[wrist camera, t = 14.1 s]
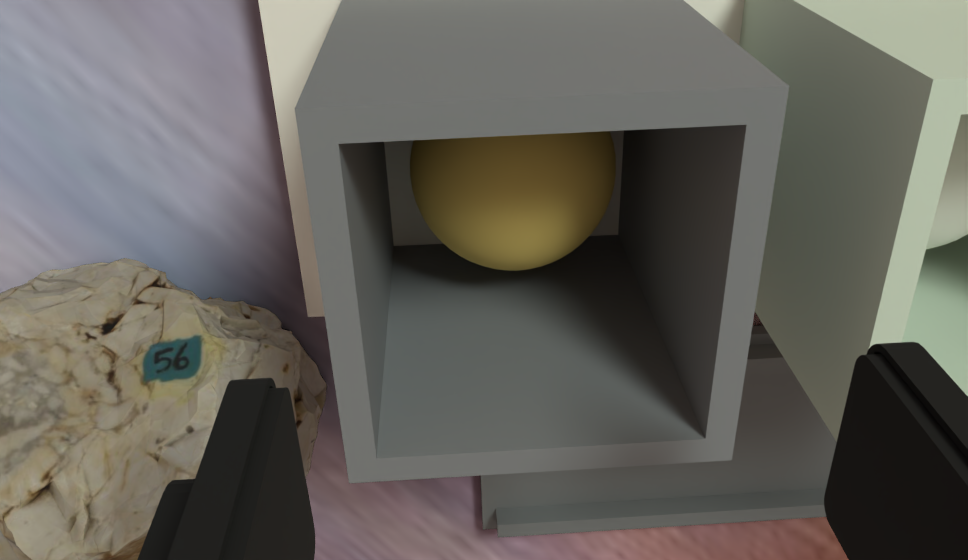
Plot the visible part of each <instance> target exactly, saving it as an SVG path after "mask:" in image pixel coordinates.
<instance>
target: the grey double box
mask: <svg viewBox="0 0 968 560" xmlns="http://www.w3.org/2000/svg"><path fill="white" fill-rule="evenodd" d="M258 2H259V8H260V15H261V21H262V27H263V34H264V40H265V47H266V53H267V59H268V66H269V72H270V78H271V85H272V91H273V98H274V104H275V110H276V117H277V123H278V129H279V136H280V142H281V148H282V155H283V161H284V168H285V174H286V180H287V187H288V193H289V199H290V206H291V212H292V219H293V225H294V231H295V238H296V244H297V250H298V257H299V263H300V269H301V276H302V282H303V289H304V295H305V301H306V308H307V314H308V317H323V316H325V321H326V328H327V335H328V342H329V349H330V356H331V363H332V370H333V376H334V383H335V390H336V397H337V404H338V411H339V418H340V425H341V432H342V438H343V445H344V452H345V459H346V466H347V473H348V480H349V483H363V482H380V481H397V480H413V479H430V478H446V477H463V476H479V475H496V474H513V473H529V472H546V471H562V470H579V469H595V468H612V467H629V466H645V465H662V464H678V463H695V462H711V461H728V460H732V456H733V449H734V443H735V436H736V430H737V423H738V417H739V410H740V404H741V397H742V391H743V384H744V378H745V371H746V365H747V358H748V352H749V345H750V339H751V332H752V326H753V319H754V313H756V314H757V316H758V318H759V319H760V321H761V322H762V324H763V325H764V327H765V329H766V330H767V332H768V333H769V335H770V337H771V338H772V340H773V341H774V343H775V345H776V346H777V348H778V349H779V351H780V353H781V354H782V356H783V357H784V359H785V360H786V362H787V364H788V365H789V367H790V368H791V370H792V372H793V373H794V375H795V376H796V378H797V380H798V381H799V383H800V384H801V386H802V388H803V389H804V391H805V392H806V394H807V395H808V397H809V399H810V400H811V402H812V403H813V405H814V407H815V408H816V410H817V411H818V413H819V415H820V416H821V418H822V419H823V421H824V423H825V424H826V426H827V427H828V429H829V430H830V432H831V434H832V435H833V437H834V438H835V440H836V442H837V439H838V434H839V430H840V426H841V421H842V417H843V413H844V408H845V404H846V400H847V395H848V391H849V387H850V383H851V378H852V374H853V370H854V365H855V362H856V359H857V358H858V357H859V356H861V355H866V354H867V351H868V349H869V348H870V347H871V346H872V345H874V344H881V343H899V342H917V343H919V344H920V345H922V346H923V347H924V348H925V349H926V350H927V351H928V353H929V354H930V355H931V356H932V357H933V358H934V359H935V360H936V362H937V363H938V364H939V365H940V366H941V367H942V368H943V369H944V371H945V372H946V373H947V374H948V375H949V376H950V377H951V378H952V379H953V381H954V382H955V383H956V384H957V385H958V386H959V387H960V388H961V390H962V391H963V392H964V393H965V394H966V395H967V396H968V235H966V236H964V237H962V238H960V239H958V240H956V241H953V242H951V243H948V244H945V245H942V246H938V247H935V248H930V249H926V247H927V243H928V240H929V236H930V232H931V228H932V224H933V220H934V217H935V213H936V209H937V205H938V201H939V197H940V194H941V190H942V186H943V182H944V178H945V174H946V171H947V167H948V163H949V159H950V155H951V152H952V148H953V144H954V140H955V136H956V132H957V129H958V125H959V121H960V117H961V115H962V114H968V0H258ZM601 131H610V133H611V137H612V140H613V143H614V149H615V155H616V176H615V184H614V189H613V193H612V197H611V200H610V202H609V205H608V207H607V209H606V212H605V214H604V216H603V218H602V219H601V221H600V223H599V224H598V226H597V227H596V228H595V230H594V231H593V232H592V234H591V235H590V236H589V237H588V238H587V239H586V240H585V241H584V242H583V243H582V244H581V245H580V246H578V247H577V248H576V249H575V250H573V251H572V252H571V253H569V254H567V255H566V256H564V257H563V258H561V259H559V260H557V261H555V262H553V263H550V264H547V265H544V266H541V267H537V268H533V269H527V270H518V271H508V270H498V269H492V268H488V267H484V266H481V265H478V264H476V263H473V262H470V261H468V260H466V259H465V258H463V257H461V256H459V255H458V254H456V253H455V252H453V251H452V250H450V249H449V248H448V247H447V246H446V245H445V244H444V243H442V242H441V241H440V240H439V239H438V238H437V237H436V235H435V234H434V233H433V232H432V231H431V229H430V228H429V227H428V225H427V223H426V222H425V220H424V219H423V217H422V215H421V212H420V210H419V208H418V206H417V204H416V201H415V198H414V194H413V191H412V184H411V177H410V157H411V149H412V144H413V141H414V140H430V139H452V138H473V137H494V136H516V135H537V134H558V133H579V132H601Z"/></svg>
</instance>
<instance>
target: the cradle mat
mask: <svg viewBox="0 0 968 560" xmlns="http://www.w3.org/2000/svg"><path fill="white" fill-rule="evenodd" d="M836 443H837V442H836V440H835V438H834V437H833V435H832V434H831V432H830V430H829V429H828V427H827V426H826V424H825V423H824V421H823V419H822V418H821V416H820V415H819V413H818V411H817V410H816V408H815V407H814V405H813V403H812V402H811V400H810V399H809V397H808V395H807V394H806V392H805V391H804V389H803V388H802V386H801V384H800V383H799V381H798V380H797V378H796V376H795V375H794V373H793V372H792V370H791V368H790V367H789V365H788V364H787V362H786V360H785V359H784V357H783V356H782V354H781V353H780V351H779V349H778V348H777V346H776V345H775V343H774V341H773V340H772V338H771V337H770V335H769V333H768V332H767V330H766V329H765V327H764V325H760V326H752V332H751V339H750V345H749V352H748V358H747V365H746V371H745V378H744V384H743V391H742V397H741V404H740V410H739V417H738V423H737V430H736V436H735V443H734V449H733V456H732V460H728V461H711V462H695V463H678V464H662V465H645V466H629V467H612V468H595V469H579V470H562V471H546V472H529V473H513V474H496V475H481V499H482V521H483V529H497V533H498V537H511V536H527V535H543V534H559V533H575V532H591V531H607V530H622V529H638V528H654V527H670V526H686V525H702V524H718V523H734V522H750V521H766V520H782V519H798V518H813V517H826V513H825V508H824V495H825V490H826V486H827V482H828V477H829V473H830V469H831V465H832V460H833V456H834V452H835V447H836Z"/></svg>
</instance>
